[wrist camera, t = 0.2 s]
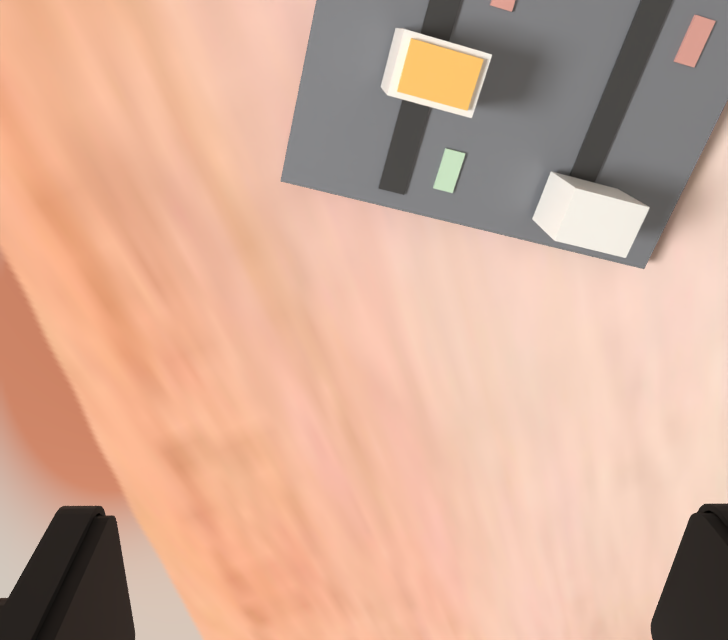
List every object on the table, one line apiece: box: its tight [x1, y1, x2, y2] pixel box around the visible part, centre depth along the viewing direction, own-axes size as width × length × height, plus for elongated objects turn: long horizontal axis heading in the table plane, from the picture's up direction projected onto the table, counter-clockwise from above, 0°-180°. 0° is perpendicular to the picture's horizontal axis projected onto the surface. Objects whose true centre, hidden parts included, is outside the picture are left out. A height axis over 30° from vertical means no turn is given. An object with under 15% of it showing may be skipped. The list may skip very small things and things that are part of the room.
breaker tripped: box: [381, 28, 492, 118], centre depth 31 cm, size 3×4×4 cm
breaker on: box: [532, 171, 650, 258], centre depth 35 cm, size 3×4×4 cm
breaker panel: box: [281, 0, 728, 269], centre depth 34 cm, size 16×24×2 cm, turn 75°
